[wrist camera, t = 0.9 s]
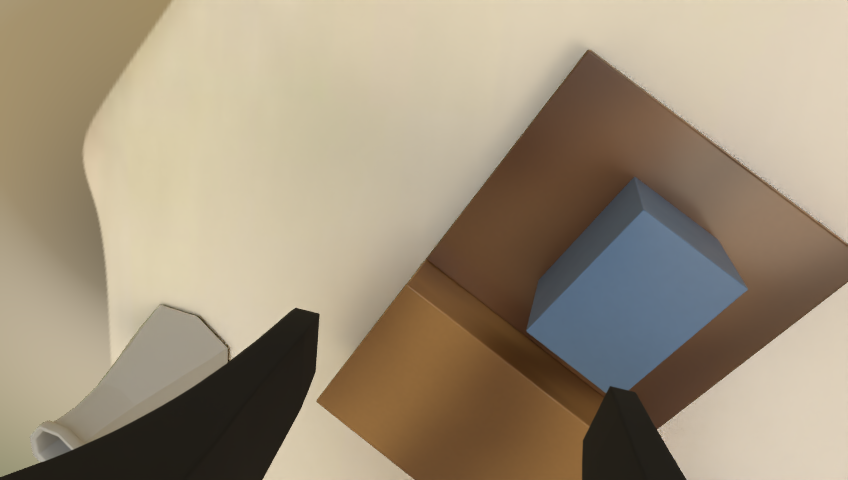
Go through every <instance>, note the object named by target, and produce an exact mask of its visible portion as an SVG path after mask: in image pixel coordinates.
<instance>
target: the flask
mask: <svg viewBox="0 0 848 480" xmlns="http://www.w3.org/2000/svg"><path fill="white" fill-rule="evenodd" d="M226 363H228V348H227V347H226V346H225V345H224V344H223V343H222V342H221V341H220V340H219V339H218V338H217V337H216V335H215V334H214V333H213V332H212V331H211V330H210V329H209V328H208V327H207V326H206V325H205V324H204V323H203V322H202V321H201V320H200V319H199V318H198V317H197V316H195V315H192V314H188V313H185V312H182V311H179V310H176V309H172V308H169V307H166V306H163V305H159V306H158V308H157V309H156V310H155V311H154V312H153V313H152V314H151V316H150V317H149V318H148V319H147V320H146V321H145V323H144V324H143V325H142V326H141V327H140V328H139V330H138V331H137V332H136V334H135V335H134V336H133V338H132V339H131V341H130V342H129V343H128V345H127V346H126V348H125V349H124V350H123V352H122V353H121V355H120V356H119V358H118V359H117V360H116V362H115V363H114V364H113V366H112V367H111V368H110V370H109V371H108V372H107V373H106V375H105V376H104V377H103V379H102V380H101V381H100V383H99V384H98V385H97V386H96V388H94V389H93V390H92V391H91V392H90V394H88V395H87V396H86V397H85V398H84V399H83V400H82V401H81V402H80V403H79V404H78V405H77V406H76V407H75V408H73V409H72V410H70V411H69V412H67V413H66V414H65V415H64V416H62V417H61V418H59V419H57V420H56V421H54V422H52V421H46V422H43V423H42V424H40V425H39V426H38V427H37V429H36V430H35V431H34V432H33V433H32V434H31V436H30V440H31V446H32V452H33V455H34V456H35V457H36V458H37V459H38V460H39V461H40V462H44V461H46V460H49V459H52V458H54V457H57V456H59V455H61V454H64V453H66V452H69V451H71V450H73V449H75V448H78V447H80V446H82V445H84V444H87V443H89V442H91V441H93V440H96V439H98V438H100V437H102V436H104V435H107V434H109V433H111V432H113V431H115V430H117V429H119V428H121V427H123V426H125V425H127V424H129V423H131V422H133V421H135V420H137V419H138V418H140V417H142V416H144V415H146V414H148V413H150V412H151V411H153V410H155V409H157V408H159V407H160V406H162V405H164V404H166V403H167V402H169V401H171V400H172V399H174V398H176V397H177V396H179V395H181V394H182V393H184V392H185V391H187V390H189V389H190V388H192V387H193V386H195V385H196V384H198V383H199V382H201V381H202V380H204V379H205V378H207V377H208V376H209V375H211V374H212V373H214V372H215V371H217V370H218V369H219V368H221V367H222V366H224V365H225V364H226Z"/></svg>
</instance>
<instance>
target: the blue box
mask: <svg viewBox="0 0 848 480" xmlns="http://www.w3.org/2000/svg"><path fill="white" fill-rule="evenodd" d="M747 290H748V288H747V286H746V285H745V283H744V282H743V280H742V278H741V277H740V275H739V273H738V272H737V270H736V268H735V267H734V265H733V263H732V262H731V260H730V259H729V257H728V255H727V254H726V252H725V250H724V249H723V247H722V245H721V244H720V242H719V240H718V239H716V238H715V237H714V236H712V235H711V234H710V233H709V232H707V231H706V230H705V229H703V228H702V227H701V226H699V225H698V224H697V223H695V222H694V221H693V220H691V219H690V218H689V217H687V216H686V215H685V214H684V213H682V212H681V211H680V210H678V209H677V208H676V207H674V206H673V205H672V204H670V203H669V202H668V201H666V200H665V199H664V198H663V197H661V196H660V195H659V194H657V193H656V192H655V191H653V190H652V189H651V188H649V187H648V186H647V185H645V184H644V183H643V182H642V181H640V180H639V179H638V178H636V177H634V178H633V179H632V180H631V181H630V182H629V183H628V184H627V185H626V186H625V187H624V188H623V189H622V191H621V192H620V193H619V194H618V195H617V196H616V197H615V198H614V199H613V200H612V201H611V202H610V203H609V205H608V206H607V207H606V208H605V209H604V210H603V211H602V212H601V213H600V214H599V215H598V216H597V218H596V219H595V220H594V221H593V222H592V223H591V224H590V225H589V226H588V227H587V228H586V229H585V230H584V232H583V233H582V234H581V235H580V236H579V237H578V238H577V239H576V240H575V241H574V242H573V243H572V245H571V246H570V247H569V248H568V249H567V250H566V251H565V252H564V253H563V254H562V255H561V256H560V257H559V259H558V260H557V261H556V262H555V263H554V264H553V265H552V266H551V267H550V268H549V269H548V270H547V272H546V273H545V274H544V275H543V276H542V277H541V278H540V279H539V281H538V285H537V289H536V293H535V297H534V301H533V305H532V309H531V313H530V317H529V321H528V325H527V329H526V331H527V332H528V333H529V334H530V335H531V336H533V337H534V338H535V339H537V340H538V341H539V342H541V343H542V344H543V345H544V346H546V347H547V348H548V349H550V350H551V351H552V352H553V353H555V354H556V355H557V356H559V357H560V358H561V359H562V360H564V361H565V362H566V363H568V364H569V365H570V366H571V367H573V368H574V369H575V370H577V371H578V372H579V373H580V374H582V375H583V376H584V377H586V378H587V379H588V380H589V381H591V382H592V383H593V384H595V385H596V386H597V387H598V388H600V389H601V390H602V391H604V392H605V393H607V391H608V389H609V387H610V386H612V387H616V388H620V389H624V390H629V389H631V388H632V387H633V386H634V385H635V384H637V383H638V382H639V381H640V380H641V379H642V378H644V377H645V376H646V375H647V374H648V373H650V372H651V371H652V370H653V369H654V368H656V367H657V366H658V365H659V364H660V363H661V362H663V361H664V360H665V359H666V358H667V357H669V356H670V355H671V354H672V353H673V352H674V351H676V350H677V349H678V348H679V347H680V346H682V345H683V344H684V343H685V342H686V341H688V340H689V339H690V338H691V337H692V336H693V335H695V334H696V333H697V332H698V331H699V330H701V329H702V328H703V327H704V326H705V325H707V324H708V323H709V322H710V321H711V320H712V319H714V318H715V317H716V316H717V315H718V314H720V313H721V312H722V311H723V310H724V309H726V308H727V307H728V306H729V305H730V304H731V303H733V302H734V301H735V300H736V299H737V298H739V297H740V296H741V295H742V294H743V293H745V292H746V291H747Z"/></svg>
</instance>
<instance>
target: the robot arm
mask: <svg viewBox="0 0 848 480" xmlns="http://www.w3.org/2000/svg"><path fill="white" fill-rule="evenodd" d="M318 328H319V314H318V313H314V312H310V311H306V310H302V309H298V308H295V309H293V310H292V311H290V312H289V313H288V314H287V315H286V316H285V317H284V318H282V319H281V320H280V321H279V322H278V323H277V324H275V325H274V326H273V327H272V328H271V329H270V330H268V331H267V332H266V333H265V334H264V335H262V336H261V337H260V338H259V339H257V340H256V341H255V342H254V343H253V344H251V345H250V346H249V347H247V348H246V349H245V350H243V351H242V352H241V353H240V354H238V355H237V356H236V357H234V358H233V359H232V360H231V361H229V362H228V363H226V364H225V365H224V366H222V367H221V368H219V369H218V370H217V371H215V372H214V373H212V374H211V375H209V376H208V377H207V378H205V379H204V380H202V381H201V382H199V383H198V384H196V385H195V386H193V387H192V388H190V389H189V390H187V391H185V392H184V393H182V394H181V395H179V396H177V397H176V398H174V399H172V400H171V401H169V402H167V403H166V404H164V405H162V406H160V407H159V408H157V409H155V410H153V411H151V412H150V413H148V414H146V415H144V416H142V417H140V418H138V419H137V420H135V421H133V422H131V423H129V424H127V425H125V426H123V427H121V428H119V429H117V430H115V431H113V432H111V433H109V434H107V435H104V436H102V437H100V438H98V439H96V440H93V441H91V442H89V443H87V444H84V445H82V446H80V447H78V448H75V449H73V450H71V451H69V452H66V453H64V454H61V455H59V456H57V457H54V458H52V459H49V460H46V461H44V462H41V463H38V464H36V465H33V466H30V467H27V468H24V469H22V470H19V471H16V472H14V473H11V474H8V475H5V476H3V477H0V480H262V479H263V478H264V476H265V474H266V472H267V470H268V468H269V467H270V465H271V463H272V461H273V459H274V457H275V456H276V454H277V452H278V450H279V448H280V446H281V445H282V443H283V441H284V439H285V437H286V435H287V434H288V432H289V430H290V428H291V426H292V424H293V422H294V421H295V419H296V417H297V415H298V413H299V411H300V409H301V407H302V405H303V402H304V400H305V397H306V395H307V392H308V390H309V387H310V385H311V382H312V380H313V377H314V374H315V371H316V357H317V343H318ZM582 480H686V478H685V476H684V475H683V473H682V471H681V470H680V468H679V467H678V465H677V463H676V462H675V460H674V458H673V457H672V455H671V453H670V452H669V450H668V448H667V447H666V445H665V443H664V441H663V440H662V438H661V436H660V434H659V433H658V431H657V429H656V427H655V425H654V424H653V422H652V420H651V418H650V417H649V415H648V413H647V411H646V409H645V408H644V406H643V404H642V402H641V401H640V399H639V397H638V395H637V394H636V392H633V391H629V390H624V389H620V388H616V387H612V386H610V387H609V389H608V391H607V393H606V395H605V397H604V399H603V401H602V403H601V405H600V407H599V409H598V411H597V413H596V415H595V417H594V419H593V421H592V423H591V425H590V427H589V429H588V431H587V433H586V435H585V437H584V439H583V449H582Z"/></svg>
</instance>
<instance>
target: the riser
mask: <svg viewBox="0 0 848 480" xmlns="http://www.w3.org/2000/svg"><path fill="white" fill-rule="evenodd" d="M634 177H636V178H638V179H639V180H640V181H642V182H643V183H644V184H645V185H647V186H648V187H649V188H651V189H652V190H653V191H655V192H656V193H657V194H659V195H660V196H661V197H663V198H664V199H665V200H666V201H668V202H669V203H670V204H672V205H673V206H674V207H676V208H677V209H678V210H680V211H681V212H682V213H684V214H685V215H686V216H687V217H689V218H690V219H691V220H693V221H694V222H695V223H697V224H698V225H699V226H701V227H702V228H703V229H705V230H706V231H707V232H709V233H710V234H711V235H712V236H714V237H715V238H716V239H718V240H719V242H720V244H721V245H722V247H723V249H724V250H725V252H726V254H727V255H728V257H729V259H730V260H731V262H732V263H733V265H734V267H735V268H736V270H737V272H738V273H739V275H740V277H741V278H742V280H743V282H744V283H745V285H746V286H747V288H748V290H747V291H746V292H745V293H743V294H742V295H741V296H740V297H739V298H737V299H736V300H735V301H734V302H733V303H731V304H730V305H729V306H728V307H727V308H726V309H724V310H723V311H722V312H721V313H720V314H718V315H717V316H716V317H715V318H714V319H712V320H711V321H710V322H709V323H708V324H707V325H705V326H704V327H703V328H702V329H701V330H699V331H698V332H697V333H696V334H695V335H693V336H692V337H691V338H690V339H689V340H688V341H686V342H685V343H684V344H683V345H682V346H680V347H679V348H678V349H677V350H676V351H674V352H673V353H672V354H671V355H670V356H669V357H667V358H666V359H665V360H664V361H663V362H661V363H660V364H659V365H658V366H657V367H656V368H654V369H653V370H652V371H651V372H650V373H648V374H647V375H646V376H645V377H644V378H642V379H641V380H640V381H639V382H638V383H637V384H635V385H634V386H633V387H632V388H631V389H629V391H633V392H636V394H637V395H638V397H639V399H640V401H641V402H642V404H643V406H644V408H645V409H646V411H647V413H648V415H649V417H650V418H651V420H652V422H653V424H654V425H655V427H656V429H658V428H659V427H661V426H662V425H663V424H665V423H666V422H667V421H668V420H670V419H671V418H672V417H674V416H675V415H676V414H678V413H679V412H680V411H681V410H683V409H684V408H685V407H687V406H688V405H689V404H690V403H692V402H693V401H694V400H696V399H697V398H698V397H700V396H701V395H702V394H703V393H705V392H706V391H707V390H709V389H710V388H711V387H712V386H714V385H715V384H716V383H718V382H719V381H720V380H722V379H723V378H724V377H725V376H727V375H728V374H729V373H731V372H732V371H733V370H735V369H736V368H737V367H738V366H740V365H741V364H742V363H744V362H745V361H746V360H747V359H749V358H750V357H751V356H753V355H754V354H755V353H757V352H758V351H759V350H760V349H762V348H763V347H764V346H766V345H767V344H768V343H769V342H771V341H772V340H773V339H775V338H776V337H777V336H779V335H780V334H781V333H782V332H784V331H785V330H786V329H788V328H789V327H790V326H791V325H793V324H794V323H795V322H797V321H798V320H799V319H801V318H802V317H803V316H804V315H806V314H807V313H808V312H810V311H811V310H812V309H813V308H815V307H816V306H817V305H819V304H820V303H821V302H823V301H824V300H825V299H826V298H828V297H829V296H830V295H832V294H833V293H834V292H835V291H837V290H838V289H839V288H841V287H842V286H843V285H845V284H846V283H847V282H848V244H847V243H846V242H845V241H843V240H842V239H841V238H839V237H838V236H837V235H835V234H834V233H833V232H831V231H830V230H829V229H827V228H826V227H825V226H824V225H822V224H821V223H820V222H818V221H817V220H816V219H814V218H813V217H812V216H810V215H809V214H808V213H806V212H805V211H804V210H802V209H801V208H800V207H798V206H797V205H796V204H794V203H793V202H792V201H790V200H789V199H788V198H786V197H785V196H784V195H782V194H781V193H780V192H778V191H777V190H776V189H774V188H773V187H772V186H771V185H769V184H768V183H767V182H765V181H764V180H763V179H761V178H760V177H759V176H757V175H756V174H755V173H753V172H752V171H751V170H749V169H748V168H747V167H745V166H744V165H743V164H741V163H740V162H739V161H737V160H736V159H735V158H733V157H732V156H731V155H729V154H728V153H727V152H725V151H724V150H723V149H722V148H720V147H719V146H718V145H716V144H715V143H714V142H712V141H711V140H710V139H708V138H707V137H706V136H704V135H703V134H702V133H700V132H699V131H698V130H696V129H695V128H694V127H692V126H691V125H690V124H688V123H687V122H686V121H684V120H683V119H682V118H680V117H679V116H678V115H676V114H675V113H674V112H672V111H671V110H670V109H669V108H667V107H666V106H665V105H663V104H662V103H661V102H659V101H658V100H657V99H655V98H654V97H653V96H651V95H650V94H649V93H647V92H646V91H645V90H643V89H642V88H641V87H639V86H638V85H637V84H635V83H634V82H633V81H631V80H630V79H629V78H627V77H626V76H625V75H623V74H622V73H621V72H620V71H618V70H617V69H616V68H614V67H613V66H612V65H610V64H609V63H608V62H606V61H605V60H604V59H602V58H601V57H600V56H598V55H597V54H596V53H594V52H593V51H592V50H590V49H589V50H587V51H586V53H585V54H584V55H583V57H582V58H581V59H580V61H579V62H578V63H577V64H576V66H575V67H574V68H573V70H572V71H571V72H570V73H569V75H568V76H567V77H566V79H565V80H564V81H563V82H562V84H561V85H560V86H559V88H558V89H557V90H556V92H555V93H554V94H553V95H552V97H551V98H550V99H549V101H548V102H547V103H546V104H545V106H544V107H543V108H542V110H541V111H540V112H539V114H538V115H537V116H536V117H535V119H534V120H533V121H532V123H531V124H530V125H529V126H528V128H527V129H526V130H525V132H524V133H523V134H522V136H521V137H520V138H519V139H518V141H517V142H516V143H515V145H514V146H513V147H512V148H511V150H510V151H509V152H508V154H507V155H506V156H505V158H504V159H503V160H502V161H501V163H500V164H499V165H498V167H497V168H496V169H495V170H494V172H493V173H492V174H491V176H490V177H489V178H488V180H487V181H486V182H485V183H484V185H483V186H482V187H481V189H480V190H479V191H478V192H477V194H476V195H475V196H474V198H473V199H472V200H471V202H470V203H469V204H468V205H467V207H466V208H465V209H464V211H463V212H462V213H461V214H460V216H459V217H458V218H457V220H456V221H455V222H454V224H453V225H452V226H451V227H450V229H449V230H448V231H447V233H446V234H445V235H444V236H443V238H442V239H441V240H440V242H439V243H438V244H437V246H436V247H435V248H434V249H433V251H432V252H431V253H430V255H429V256H428V257H427V258H426V260H425V261H424V262H423V264H422V265H421V266H420V267H419V269H418V270H417V271H416V272H415V274H414V275H413V276H412V278H411V279H410V280H409V281H408V283H407V284H406V285H405V286H404V288H403V289H402V290H401V292H400V293H399V294H398V295H397V297H396V298H395V299H394V301H393V302H392V303H391V305H390V306H389V307H388V308H387V310H386V311H385V312H384V314H383V315H382V316H381V317H380V319H379V320H378V321H377V323H376V324H375V325H374V327H373V328H372V329H371V330H370V332H369V333H368V334H367V336H366V337H365V338H364V340H363V341H362V342H361V343H360V345H359V346H358V347H357V349H356V350H355V351H354V352H353V354H352V355H351V356H350V358H349V359H348V360H347V362H346V363H345V364H344V365H343V367H342V368H341V369H340V371H339V372H338V373H337V374H336V376H335V377H334V378H333V380H332V381H331V382H330V384H329V385H328V386H327V387H326V389H325V390H324V391H323V393H322V394H321V395H320V396H319V398H318V399H317V403H319V404H320V405H321V406H322V407H324V408H325V409H326V410H327V411H329V412H330V413H331V414H333V415H334V416H335V417H336V418H338V419H339V420H340V421H341V422H343V423H344V424H345V425H346V426H348V427H349V428H350V429H351V430H353V431H354V432H355V433H356V434H358V435H359V436H360V437H362V438H363V439H364V440H365V441H367V442H368V443H369V444H370V445H372V446H373V447H374V448H375V449H377V450H378V451H379V452H380V453H382V454H383V455H384V456H386V457H387V458H388V459H389V460H391V461H392V462H393V463H394V464H396V465H397V466H398V467H399V468H401V469H402V470H403V471H404V472H406V473H407V474H408V475H409V476H411V477H412V478H413V479H415V480H582V449H583V439H584V437H585V435H586V433H587V431H588V429H589V427H590V425H591V423H592V421H593V419H594V417H595V415H596V413H597V411H598V409H599V407H600V405H601V403H602V401H603V399H604V397H605V395H606V393H605V392H604V391H602V390H601V389H600V388H598V387H597V386H596V385H595V384H593V383H592V382H591V381H589V380H588V379H587V378H586V377H584V376H583V375H582V374H580V373H579V372H578V371H577V370H575V369H574V368H573V367H571V366H570V365H569V364H568V363H566V362H565V361H564V360H562V359H561V358H560V357H559V356H557V355H556V354H555V353H553V352H552V351H551V350H550V349H548V348H547V347H546V346H544V345H543V344H542V343H541V342H539V341H538V340H537V339H535V338H534V337H533V336H531V335H530V334H529V333H528V332H527V331H526V329H527V325H528V321H529V317H530V313H531V309H532V305H533V301H534V297H535V293H536V289H537V285H538V281H539V279H540V278H541V277H542V276H543V275H544V274H545V273H546V272H547V270H548V269H549V268H550V267H551V266H552V265H553V264H554V263H555V262H556V261H557V260H558V259H559V257H560V256H561V255H562V254H563V253H564V252H565V251H566V250H567V249H568V248H569V247H570V246H571V245H572V243H573V242H574V241H575V240H576V239H577V238H578V237H579V236H580V235H581V234H582V233H583V232H584V230H585V229H586V228H587V227H588V226H589V225H590V224H591V223H592V222H593V221H594V220H595V219H596V218H597V216H598V215H599V214H600V213H601V212H602V211H603V210H604V209H605V208H606V207H607V206H608V205H609V203H610V202H611V201H612V200H613V199H614V198H615V197H616V196H617V195H618V194H619V193H620V192H621V191H622V189H623V188H624V187H625V186H626V185H627V184H628V183H629V182H630V181H631V180H632V179H633V178H634Z"/></svg>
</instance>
